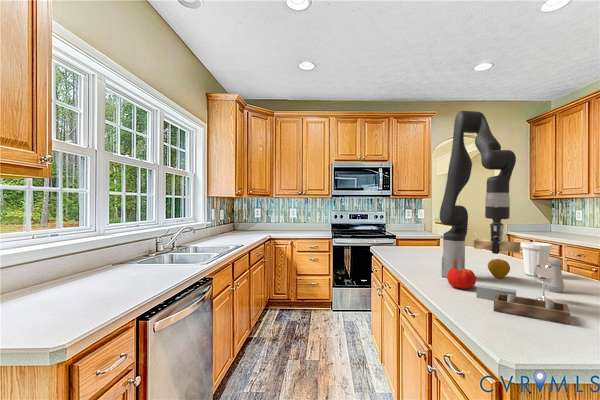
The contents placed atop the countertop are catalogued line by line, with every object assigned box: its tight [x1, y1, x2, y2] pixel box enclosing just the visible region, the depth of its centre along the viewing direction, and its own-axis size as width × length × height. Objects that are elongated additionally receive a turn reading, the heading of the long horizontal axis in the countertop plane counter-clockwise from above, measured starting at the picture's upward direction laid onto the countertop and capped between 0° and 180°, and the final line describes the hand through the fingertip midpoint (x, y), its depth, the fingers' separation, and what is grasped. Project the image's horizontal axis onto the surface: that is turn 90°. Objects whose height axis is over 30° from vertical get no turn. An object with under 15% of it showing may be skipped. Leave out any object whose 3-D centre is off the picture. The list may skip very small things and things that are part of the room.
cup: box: [520, 241, 553, 278], centre depth 155 cm, size 12×12×15 cm
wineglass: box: [533, 265, 554, 301], centre depth 118 cm, size 6×6×12 cm
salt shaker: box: [545, 257, 565, 294], centre depth 128 cm, size 6×6×13 cm
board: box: [473, 238, 521, 254], centre depth 117 cm, size 14×5×3 cm, turn 54°
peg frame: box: [493, 293, 571, 326], centre depth 103 cm, size 19×10×4 cm, turn 54°
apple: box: [487, 258, 511, 279], centre depth 150 cm, size 9×9×9 cm
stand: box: [476, 283, 517, 301], centre depth 117 cm, size 12×4×4 cm, turn 54°
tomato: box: [446, 268, 477, 290], centre depth 133 cm, size 11×11×8 cm
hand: (496, 252), depth 117 cm, fingers closed on board, 5 cm apart
